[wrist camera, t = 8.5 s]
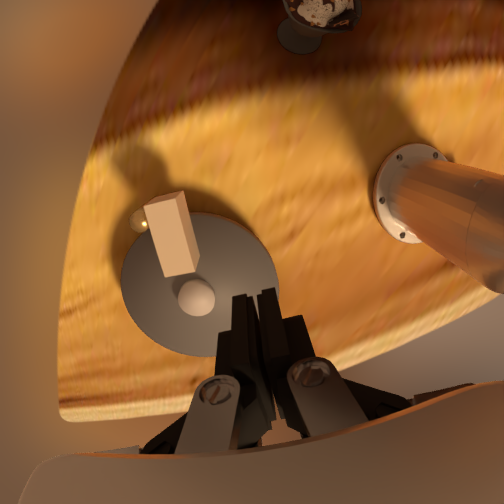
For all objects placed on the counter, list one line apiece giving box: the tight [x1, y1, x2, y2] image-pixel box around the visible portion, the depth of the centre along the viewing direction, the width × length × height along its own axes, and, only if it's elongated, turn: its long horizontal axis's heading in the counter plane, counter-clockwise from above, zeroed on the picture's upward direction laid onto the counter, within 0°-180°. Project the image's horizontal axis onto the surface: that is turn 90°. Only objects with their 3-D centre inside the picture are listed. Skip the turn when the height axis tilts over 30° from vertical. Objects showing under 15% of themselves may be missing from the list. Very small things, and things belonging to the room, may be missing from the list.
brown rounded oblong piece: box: [129, 196, 158, 233], centre depth 32 cm, size 8×15×7 cm, turn 10°
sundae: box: [277, 0, 362, 54], centre depth 19 cm, size 7×7×15 cm
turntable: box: [121, 190, 279, 357], centre depth 32 cm, size 20×18×6 cm
